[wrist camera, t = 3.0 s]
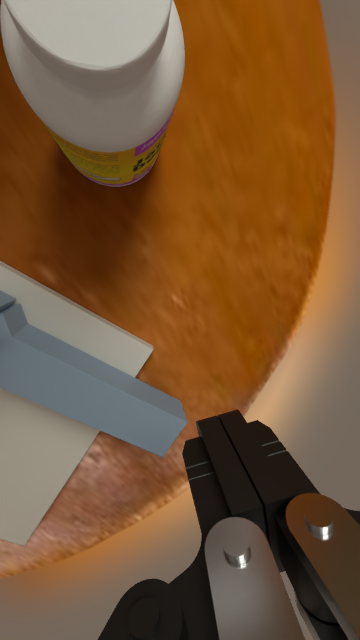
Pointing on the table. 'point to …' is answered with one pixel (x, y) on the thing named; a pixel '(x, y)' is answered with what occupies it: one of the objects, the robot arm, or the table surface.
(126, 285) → the table surface
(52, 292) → the board
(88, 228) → the table surface
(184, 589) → the robot arm
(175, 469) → the table surface
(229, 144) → the table surface
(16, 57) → the supplement bottle
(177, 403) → the link
